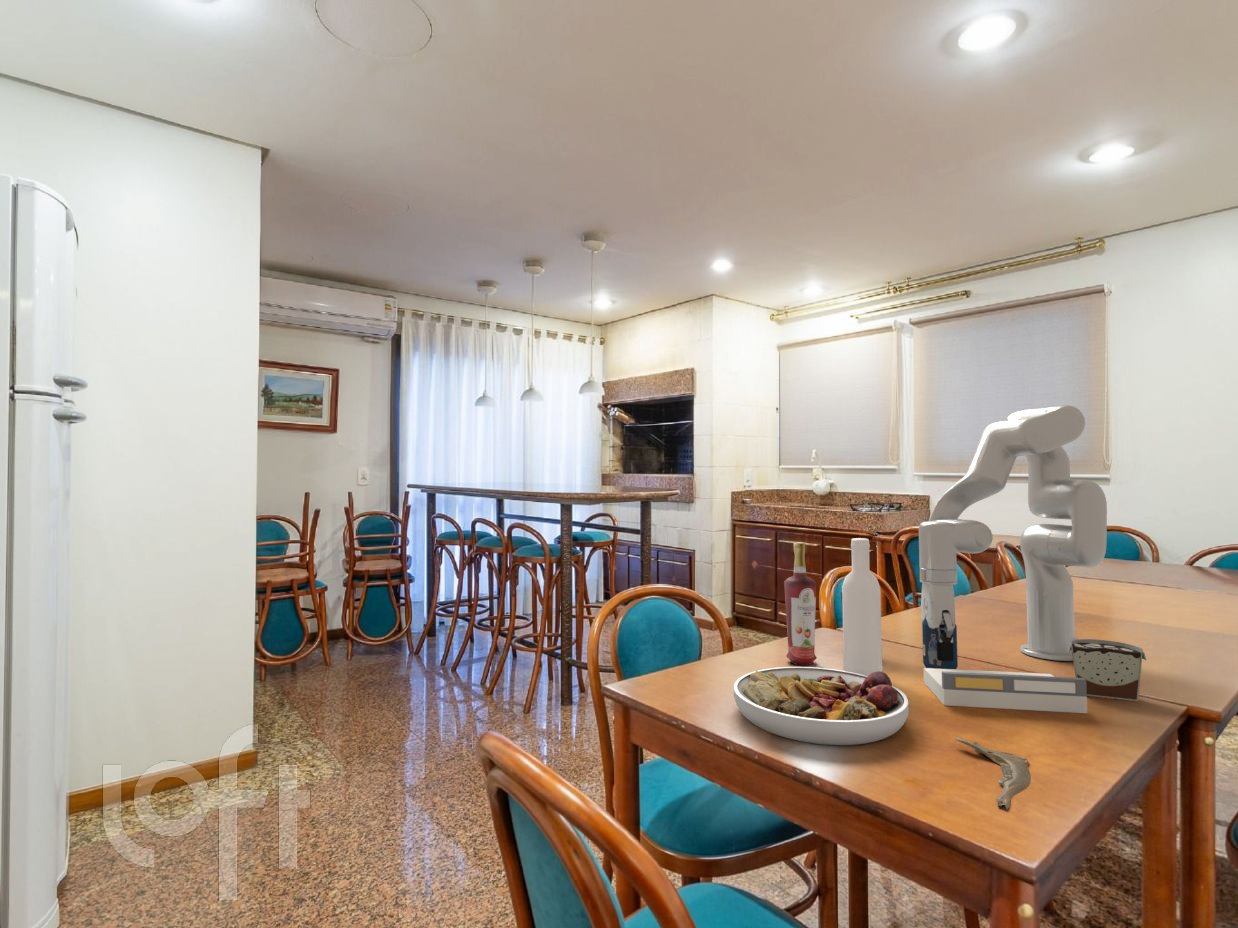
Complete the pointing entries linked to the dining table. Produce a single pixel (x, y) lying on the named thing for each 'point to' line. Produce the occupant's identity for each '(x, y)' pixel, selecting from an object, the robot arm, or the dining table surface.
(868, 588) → the bottle
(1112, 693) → the food container
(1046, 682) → the display shelf
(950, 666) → the soda can
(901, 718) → the bowl
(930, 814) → the dining table surface
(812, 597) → the liquor
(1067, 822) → the dining table surface
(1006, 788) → the jawbone
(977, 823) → the dining table surface
